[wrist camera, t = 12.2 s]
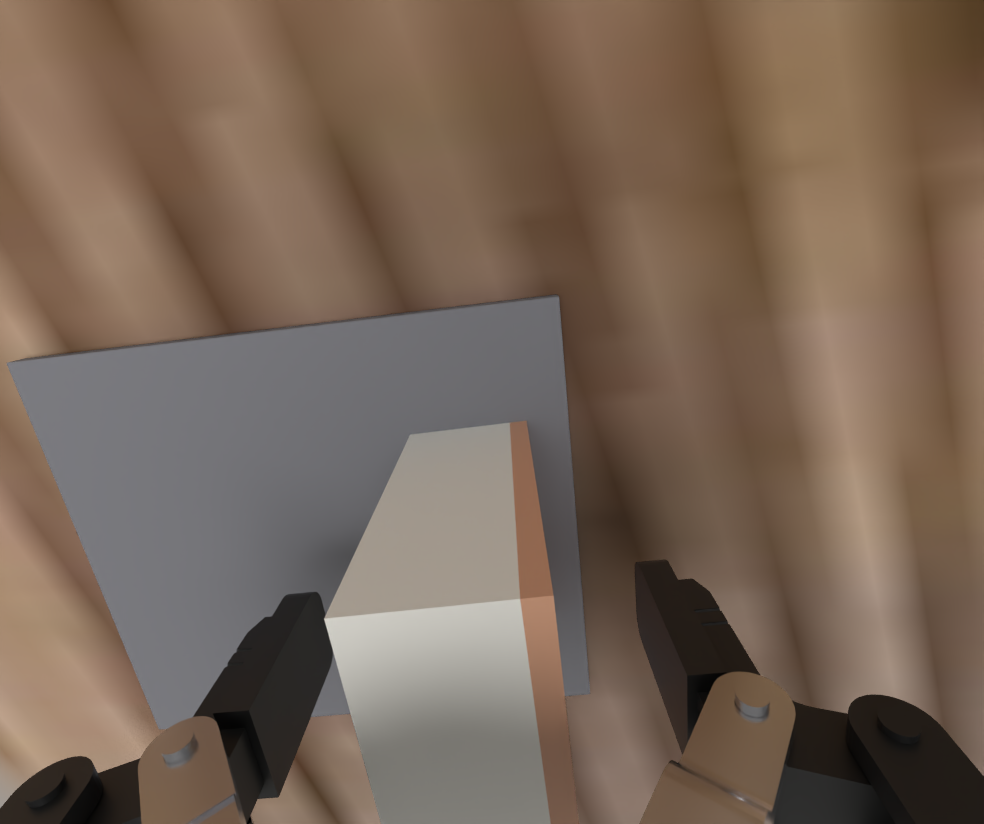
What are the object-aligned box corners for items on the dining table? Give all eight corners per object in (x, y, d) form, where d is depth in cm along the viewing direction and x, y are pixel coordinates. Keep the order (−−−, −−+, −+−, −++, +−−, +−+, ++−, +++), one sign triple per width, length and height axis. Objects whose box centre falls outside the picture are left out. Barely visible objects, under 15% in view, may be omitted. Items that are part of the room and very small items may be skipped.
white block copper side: (410, 434, 15) (324, 619, 8) (526, 420, 15) (553, 595, 8) (446, 625, 18) (406, 915, 10) (549, 615, 17) (588, 903, 10)
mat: (24, 358, 16) (6, 362, 15) (556, 294, 15) (559, 296, 14) (169, 715, 20) (159, 729, 19) (587, 680, 19) (590, 694, 18)
